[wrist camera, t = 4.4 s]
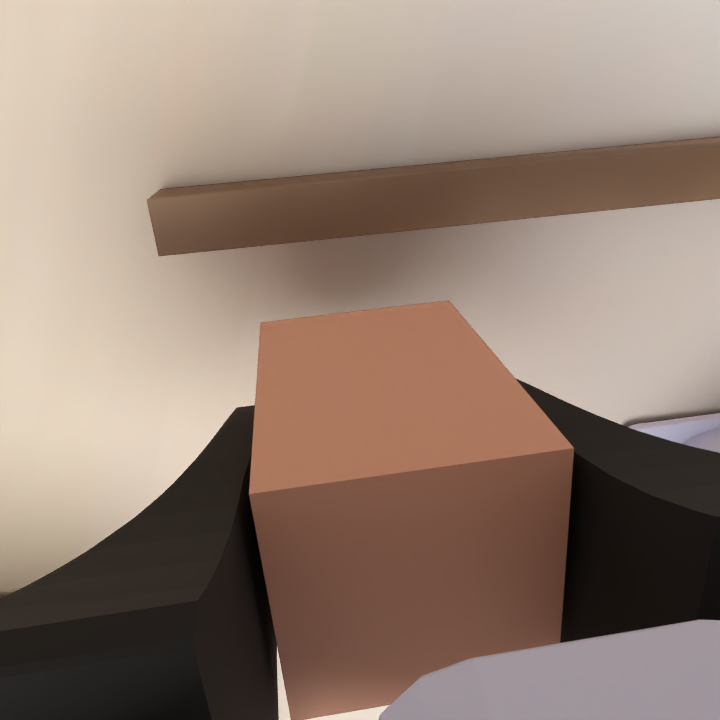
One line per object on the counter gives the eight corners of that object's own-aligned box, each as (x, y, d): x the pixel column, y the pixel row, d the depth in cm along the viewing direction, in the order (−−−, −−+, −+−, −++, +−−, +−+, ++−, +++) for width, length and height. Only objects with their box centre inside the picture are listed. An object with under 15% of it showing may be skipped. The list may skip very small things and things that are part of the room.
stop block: (452, 459, 15) (558, 676, 9) (285, 482, 14) (290, 721, 9) (448, 300, 13) (573, 448, 8) (260, 322, 13) (249, 493, 7)
